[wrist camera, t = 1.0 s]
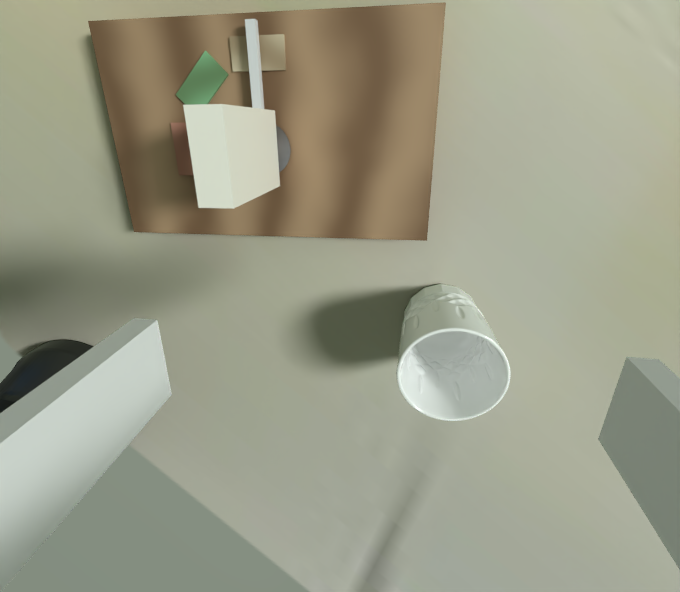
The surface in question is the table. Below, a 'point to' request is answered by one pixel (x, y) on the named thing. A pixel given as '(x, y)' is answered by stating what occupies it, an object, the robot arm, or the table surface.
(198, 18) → the wooden cutting board
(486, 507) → the table surface
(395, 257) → the table surface
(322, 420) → the table surface
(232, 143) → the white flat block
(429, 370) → the white cup
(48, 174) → the table surface
